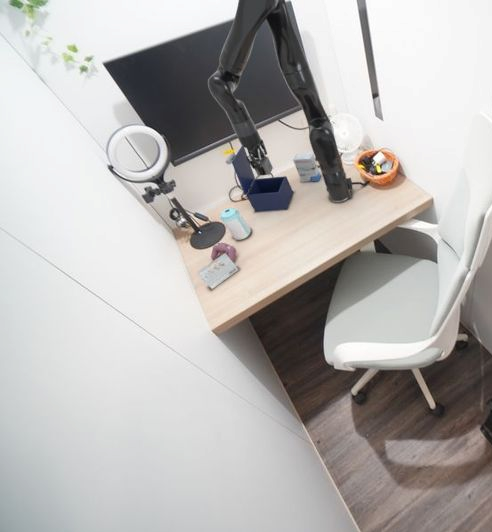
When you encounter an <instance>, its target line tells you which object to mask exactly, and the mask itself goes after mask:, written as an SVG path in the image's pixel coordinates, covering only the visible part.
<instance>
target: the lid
mask: <svg viewBox="0 0 492 532" xmlns="http://www.w3.org/2000/svg"><path fill="white" fill-rule="evenodd" d="M246 156H248V154H247V150H246V148H245V147H243V146H242V145H241V146H240V148H239V149H238V151H237V153H236V154H235V153H234V152H231V153H230V154H229V156H227V158H226V160H225V164H227V165H232V166H233V167H232V168H233V169H234V172H235V175H236V177H237V179H238V182H239V184H240V187H241V189H242V192H243V194H244V196H246V195H247V193H248V191H249V189H250V187H251V185H252V183H253V181H254V179H256V177H255V174H254V171H253V168H252V166H251V165H250V163H249V162H248V160H247V159H246Z"/></svg>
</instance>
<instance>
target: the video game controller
mask: <svg viewBox="0 0 492 532" xmlns="http://www.w3.org/2000/svg"><path fill="white" fill-rule="evenodd" d="M224 253H226V254H227V256H228V257H229V258H230V260H231V261H232V262H233V263H234V262H235V260H236V254H237V249H236V247H235V246H234V245H231V244H228V243H226V242H217V243H215V244H214V245H213V246H212V251H211V254H210V258H211V260H212V261H214V260H215V259H217V258H218V257H219V256H221V255H223V254H224Z"/></svg>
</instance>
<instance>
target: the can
mask: <svg viewBox="0 0 492 532" xmlns="http://www.w3.org/2000/svg"><path fill="white" fill-rule="evenodd" d="M220 220H221V222H222V223H223V224H224V226H225V227H226V229H227V230H228V231H229V233H230V234H231V236H232V237H233V239H234V240H237V241H238V240H244V239H246V238H247V237H248V236H249V235H250V234H251V228H250V227H249V224H247V222H246V220H245V219H244V217H243V215H242V214H241V212H240V211H239V210H238V209H236V208H235V207H227V208H225V209H223V210H222V212H220Z"/></svg>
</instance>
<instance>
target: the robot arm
mask: <svg viewBox="0 0 492 532" xmlns="http://www.w3.org/2000/svg"><path fill="white" fill-rule="evenodd" d="M265 22H266V24H267V26H268V28H269V31H270V34H271V37H272V41H273V47H274V52H275V57H276V61H277V65H278V68H279V70H280V73H281V75H282V77H283V80H284V82H285V84H286V86H287V89H289V92H290V94H291V95H292V96H293V98H294V99H295V101H296V102H297V103H298V104H299V106H300V108H301V110H302V112H303V114H304V116H305V120H306V123H307V127H308V140H309V143H310V146H311V149H312V153H313V155H314V158H315V161H316V162H317V163H318V167H319V170H320V173H321V176H322V178H323V181H324V184H325V187H326V188H325V189H326V192H327V194H328V196H329V197H328V198H329V200H330V201H331V202H332V203H338V204H339V203H343V202H346V201H348V200H350V199H352V197H351V195H352V194H351V190H353V189H354V188H353V185H361V186H363V187H365V186H367V185H368V184H369V182H370V181H367V180H366V181H365V182H364V183H363V182H361V181H353V180H352V178H351V177H348V176H347V173H346V172H345V168H344V165H343V161H342V157H341V154H340V151H339V149H338V148H339V147H338V145H337V141H336V137H335V129H334V126H333V124H332V122H331V120H330V118H329V116H328V114H327V112H326V109H325V108H324V106H323V103H322V100H321V98H320V93H319V90H318V87H317V84H316V81H315V77H314V74H313V73H312V70H311V67H310V65H309V62H308V60H307V57H306V54H305V53H304V50H303V47H302V45H301V43H300V39H299V37H298V35H297V32H296V30H295V27H294V25H293V22H292V19H291V15H290V12H289V10H288V5H287V3H286V0H238V3H237V7H236V12H235V15H234V19H233V21H232V24H231V27H230V29H229V32H228V35H227V37H226V39H225V42H224V44H223V47H222V50H221V52H220V55H219V66H218V67H217V70H216V71H215V72H214V73H213V74H211V76H209V77H208V79H207V86H208V90H209V92H210V94H211V95H212V97H213V99H214V100H215V101H216V102H217V103H218V105H219V106H220V107H221V108H222V109H223V111H224V113H225V114H226V116H227V119H228V120H229V121H230V124H231V127H232V129H233V131H234V133H235V135H236V137H237V139H238V141H239V143H240V145H241V146H243V147H244V148H245V149H246V151H247V153H248V155H247V156H246V159H247V160H248V162H249V163H250V165H251V168H252V170H255V169H258V171H259V173H260V176H267V175H266V173H265V171H264V168H263V166H262V164H261V158H262V157H268V156H267V155H268V151H267V148H266V146H265V142H264V140H263V139H262V137H261V136H260V134H259V131H258V129H257V127H256V125H255V123H254V121H253V119H252V117H251V116H250V113H249V111H248V109H247V107H246V105H245V103H244V102H243V101H242V100H241V99H236V97H235V95H234V94H233V93H234V92H235V91H236V90H237V88H238V86H239V84H240V81H241V77H242V74H243V71H244V70H245V68H246V66H247V63H248V61H249V59H250V56H251V55H252V51H253V47H254V43H255V39H256V37H257V34H258V33H259V30H260V28H261V27H262V25H263V24H264V23H265ZM256 158H258V159H256ZM257 161H258V162H259V164H258V163H257Z"/></svg>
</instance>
